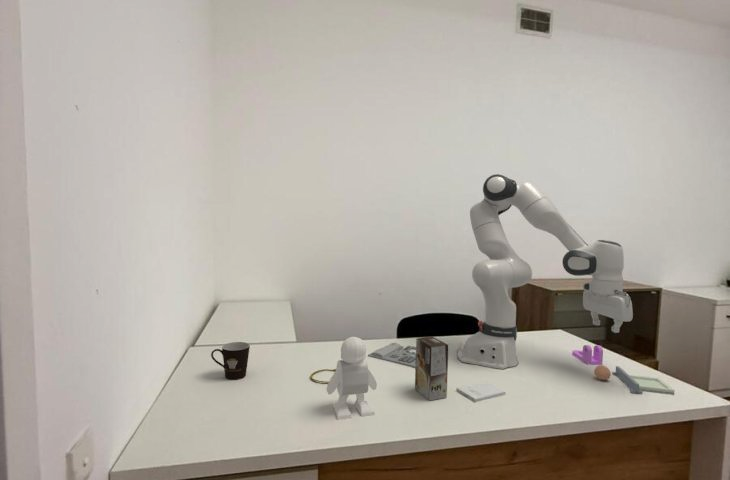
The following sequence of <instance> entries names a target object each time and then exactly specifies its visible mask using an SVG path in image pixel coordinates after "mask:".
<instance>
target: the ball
mask: <svg viewBox="0 0 730 480" xmlns="http://www.w3.org/2000/svg"><path fill="white" fill-rule="evenodd" d="M593 373H594V376H595V377H596V378H597V379H599V380H600V381H607V380H609V379H610V377H611V376H612V375H611V374H612V373H611V370H610V369H609V368H608V367H607V366H605V365H603V364H602V365H596V367H595V368H594V371H593Z"/></svg>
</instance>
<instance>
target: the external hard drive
mask: <svg viewBox="0 0 730 480" xmlns="http://www.w3.org/2000/svg"><path fill="white" fill-rule="evenodd" d="M455 391H456V393H459V394H460V395H463V396H464V397H466V398H467V399H468V400H471V401H472V402H474V403H477V402H481V401H485V400H490V399H493V398H497V397H502V396H505V395H506V390H504V389H503V388H500V387H498V386H497V385H495V384H492V383H491V382H488V381H483V382H478V383H474V384H470V385H465V386H462V387H458V388H457V387H456V390H455Z"/></svg>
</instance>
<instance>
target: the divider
mask: <svg viewBox="0 0 730 480" xmlns="http://www.w3.org/2000/svg"><path fill="white" fill-rule="evenodd" d="M611 374H612V375H613V376H616V377H618V378H619V380H621V382H623V383H624V384H625V385H626V387H628V388H629V389H630V390H629V392H630V393H632V394H638V395H643V391H641V390H639V384H638V383H637V382H636V381H635V380H634V379H633V378H631V377H630V376H629V375H630V374H629V373H627V372H626V371H625V370H624V369H622V367H620V366H617V365H616V366H615V371H612V373H611Z"/></svg>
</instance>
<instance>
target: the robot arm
mask: <svg viewBox="0 0 730 480" xmlns="http://www.w3.org/2000/svg"><path fill="white" fill-rule="evenodd" d="M482 191H483V199H482V200H481V201H480V202H477V203H475V204H474V205H473V206H472V207H471V208H470V210H469V218H470V224H471V228H472V232H473V235H474V237H475V239H474V240H475V241H476V245H477V247H478V250H479V251H480V252H481V253H482V254H483V255H485V256H487V257H488V258H489V259H487V260H486V259H485V260H482V261H480V262H477V263H476V264H475V265H474V266H473V268H472V272H471V275H472V277H471V278H472V280H473V282H474V284H475V285H476V287H478V288H479V289H480V291H481V292H482V295H483V298H484V304H485V307H484V308H485V310H484V311H485V313H484V315H485V316H484V317H485V318H484V321H482V320H479V321H478V322H477V326H478V327H479V329H478V330H479V331H477V332H476V333H474V334H473V335H471V336H469V337H468V338H466V339H465V342H464V344H463V348H461V349H458V351H457V354H456V355H457V359H458V360H459V361H460V362H461V363H467V364H472V365H477V366H483V367H488V368H494V369H500V370H503V369H507V368H511V367H516V366H518V365H519V360H518V359H519V358H518V354H517V346H516V345H517V344H516V341H517V336H518V335H517V334H518V328H517V327H518V326H517V325H516V321H517V305H516V303H515V302H514V301H513V300H512V299H511V298H510V296H509V292H508V289H511V288H512V289H513V288H519V287H523V286H525V285H527V284H529V283H530V281H531V280H532V277H533V270H532V268H531V266H530V264H529V263H528V262H527V261H525V260H523V259H522V258H521V257H520V256H519V255H518V254H517V252H516V251H515V250H514V249H513V248H512V245H511V244H510V243H509V241H508V238H507V236H506V233H505V232H504V231H505V230H504V228H503V226H502V223H501V219H500V215H501V214H503V213H506V212H507V211H508V210H510V208H512V206H514V207H515V208H516V209H518V211H520V213H521V215H522V216H523V217H524V219H525V220H526V221H527V222H528V224H530V225H532V226H533V227H534V228H536V229H537V230H540V231H543V232H547V233H549V234H551V235H552V236H554V237H555V238H556V239H558V240H559V241H560V243H561V244H562V245H563V246H564V247H565V248H566V250H567V252H566V253H565V254H564V256H563V257H562V267H563V269H564V271H566V272H567V273H568V274H569V275H572V276H575V277H581V276H582V277H583V276H584V277H586V276H591V277H592V278H591V279H592V280H591V281H589V282H585V283H583V284H582V289H583V290H584V291H582V294H583V296H582V306H583V308H584V310H586V311H590V315H591V319H592V325H594V326H600V325H601V320H600V319H599V318H600V317H599V315H601V316H604V317H607V318H610V319H613V322H614V324H613V325H612V326H611V328H610V329H611V330H610V331H611V332H612V333H615V334H617V333H620V331H621V330H620V328H621V326H622V325H623V322H626V323H627V322H631V321H632V320H633V316H634V313H633V303H632V300H631V296H629V294H628V293H627V292H626V291H623V289H624V287H623V286H624V278H623V271H624V268H625V267H624V265H625V264H624V262H625V258H624V249H623V246H622V245H621V244H620V243H619V242H616V241H611V240H606V239H598V240H596V241H594V242H593V243H591V244H588V243H586V242H585V240H583V238H582V237H581V236H580V235H579V234H578V233H577V231H575V229H573V227H572V226H571V225H570V224H569V223H568V221H566V219H565V218H564V216H562V214H561V212H560V211H559V210H558V208H557V207H556V206H555V204H554V203H553V201H551V199H550V198H549V197H548V196H547V195H546V193H545V192H544V191H543V190H542V189H541V188H540V187H538V185H536V184H534V183H533V182H531V181H522V182H520V183H519V184H517V182H516V180H514V179H511V178H508V177H507V176H505V175H502V174H498V173H497V174H492V175H490V176H489V177H487V178H486V179H485V181H484V183H483V186H482Z"/></svg>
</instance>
